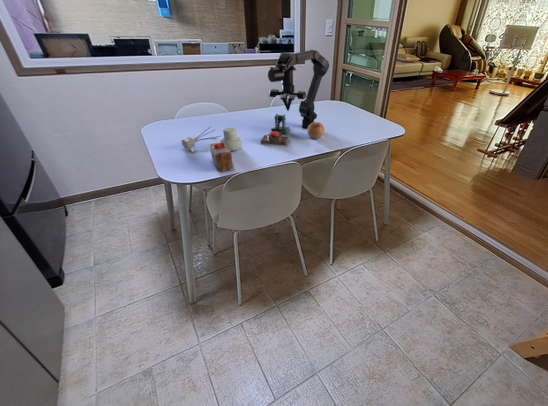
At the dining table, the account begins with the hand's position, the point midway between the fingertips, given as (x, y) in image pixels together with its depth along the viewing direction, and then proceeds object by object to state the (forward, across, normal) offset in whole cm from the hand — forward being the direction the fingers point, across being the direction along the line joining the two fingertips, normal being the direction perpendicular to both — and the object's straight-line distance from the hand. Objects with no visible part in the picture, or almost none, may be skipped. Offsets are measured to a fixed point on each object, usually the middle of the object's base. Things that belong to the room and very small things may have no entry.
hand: (288, 110), depth 157 cm
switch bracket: (+13, +5, -2) cm, 14 cm away
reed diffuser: (+13, +39, +25) cm, 48 cm away
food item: (+13, +21, +45) cm, 51 cm away
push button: (+9, +4, +15) cm, 18 cm away
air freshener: (+13, +23, +28) cm, 39 cm away
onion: (+13, -16, +4) cm, 21 cm away
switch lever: (+8, +5, +2) cm, 10 cm away
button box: (+13, +4, +15) cm, 20 cm away
